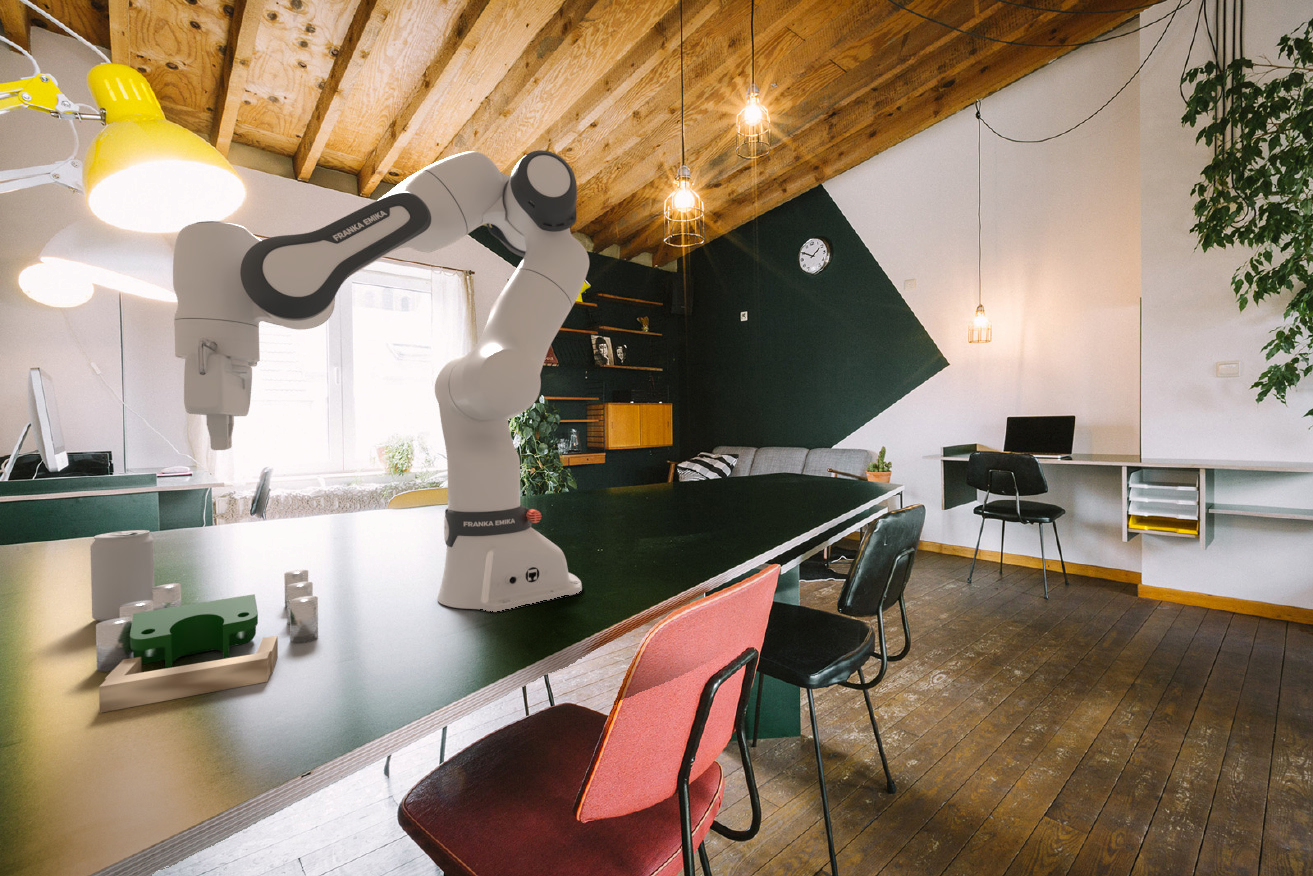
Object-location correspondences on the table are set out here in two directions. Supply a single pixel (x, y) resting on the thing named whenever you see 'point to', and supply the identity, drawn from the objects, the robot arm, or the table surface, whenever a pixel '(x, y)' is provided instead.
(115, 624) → the spacers
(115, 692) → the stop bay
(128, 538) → the beverage can
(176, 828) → the table surface
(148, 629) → the clamp
